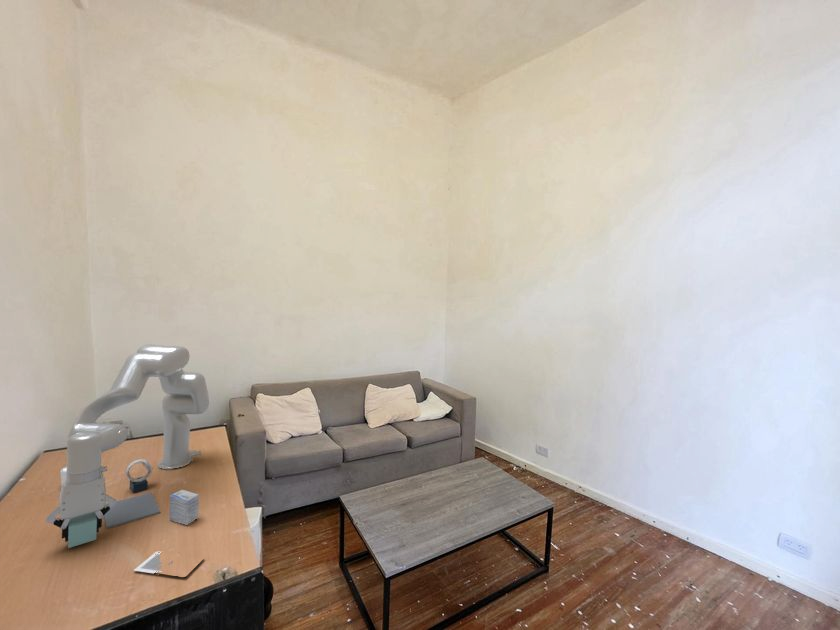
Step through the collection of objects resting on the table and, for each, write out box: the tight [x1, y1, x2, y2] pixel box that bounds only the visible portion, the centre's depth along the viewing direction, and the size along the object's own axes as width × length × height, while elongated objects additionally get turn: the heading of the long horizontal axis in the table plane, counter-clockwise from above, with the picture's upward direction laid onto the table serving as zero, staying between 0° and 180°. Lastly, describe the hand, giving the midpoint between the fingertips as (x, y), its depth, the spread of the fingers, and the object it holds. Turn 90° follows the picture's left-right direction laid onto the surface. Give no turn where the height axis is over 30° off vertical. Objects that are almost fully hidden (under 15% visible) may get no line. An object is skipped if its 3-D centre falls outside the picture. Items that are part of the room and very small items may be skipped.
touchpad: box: [133, 550, 186, 574], centre depth 102 cm, size 8×15×2 cm, turn 84°
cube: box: [67, 512, 97, 549], centre depth 109 cm, size 6×6×6 cm
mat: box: [103, 492, 161, 530], centre depth 127 cm, size 14×16×1 cm
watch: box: [125, 458, 153, 494], centre depth 140 cm, size 6×8×11 cm
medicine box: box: [169, 489, 200, 526], centre depth 123 cm, size 8×4×9 cm, turn 71°
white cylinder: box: [59, 466, 67, 485], centre depth 139 cm, size 7×7×7 cm
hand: (82, 534), depth 109 cm, fingers closed on cube, 5 cm apart
